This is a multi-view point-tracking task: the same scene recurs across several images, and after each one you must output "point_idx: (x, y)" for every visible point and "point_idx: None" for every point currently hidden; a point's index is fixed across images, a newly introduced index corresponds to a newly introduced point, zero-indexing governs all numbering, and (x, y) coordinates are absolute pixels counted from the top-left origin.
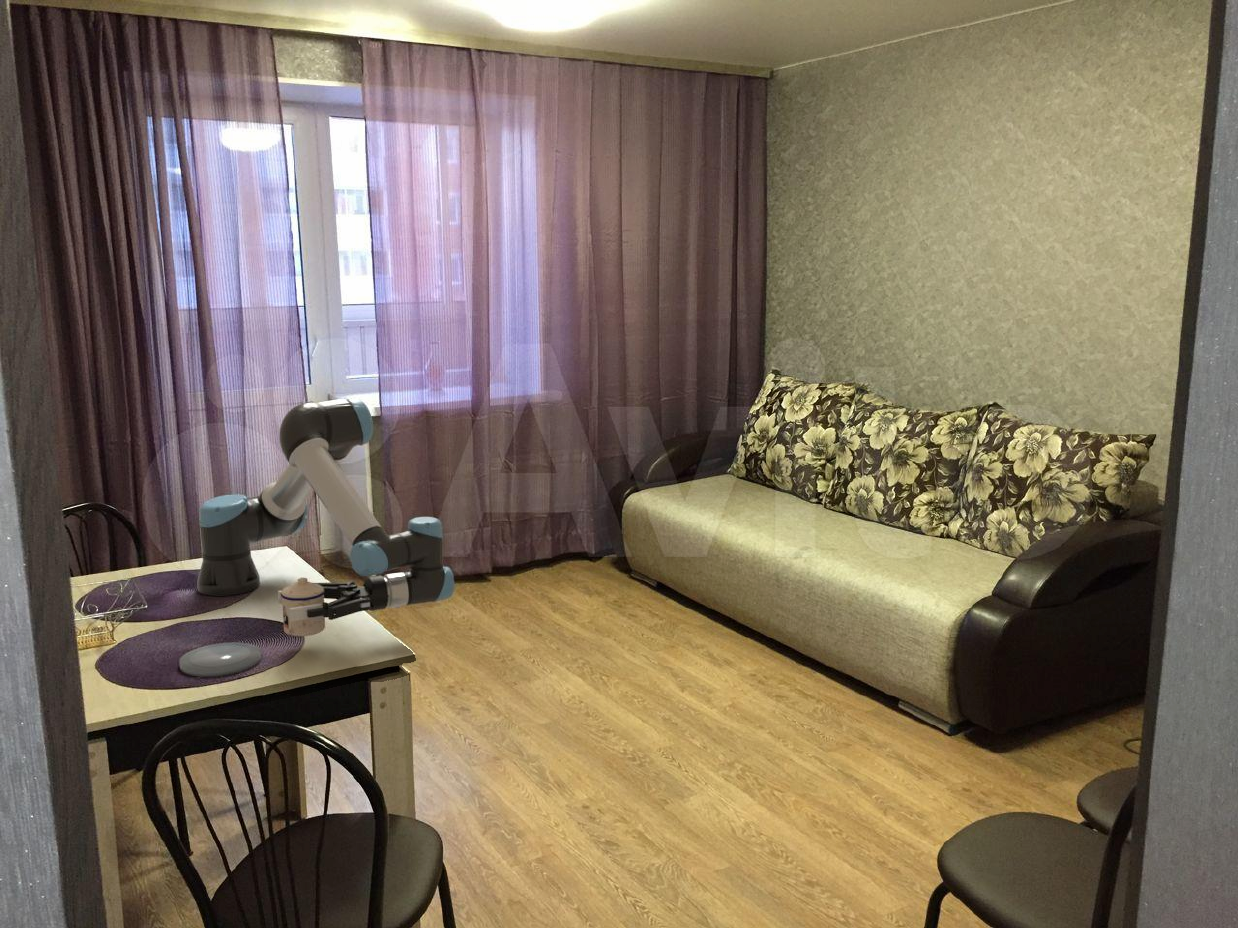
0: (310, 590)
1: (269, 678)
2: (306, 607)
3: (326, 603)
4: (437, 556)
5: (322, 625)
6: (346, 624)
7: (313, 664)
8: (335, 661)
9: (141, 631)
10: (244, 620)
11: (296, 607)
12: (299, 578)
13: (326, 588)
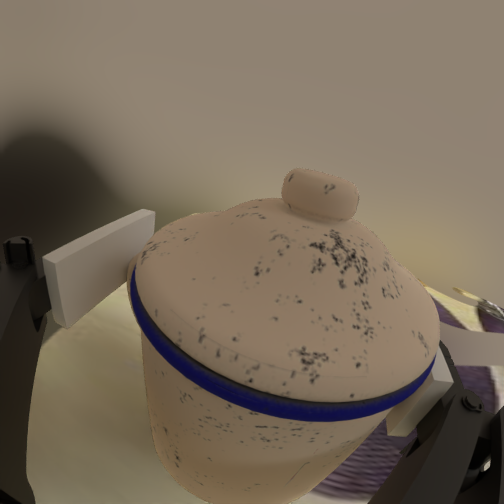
0: (194, 231)
1: (118, 303)
2: (99, 231)
3: (8, 241)
4: None
5: (160, 453)
6: None
7: (84, 385)
8: (42, 423)
9: (448, 306)
10: (485, 404)
11: (135, 218)
12: (337, 177)
13: (399, 499)
